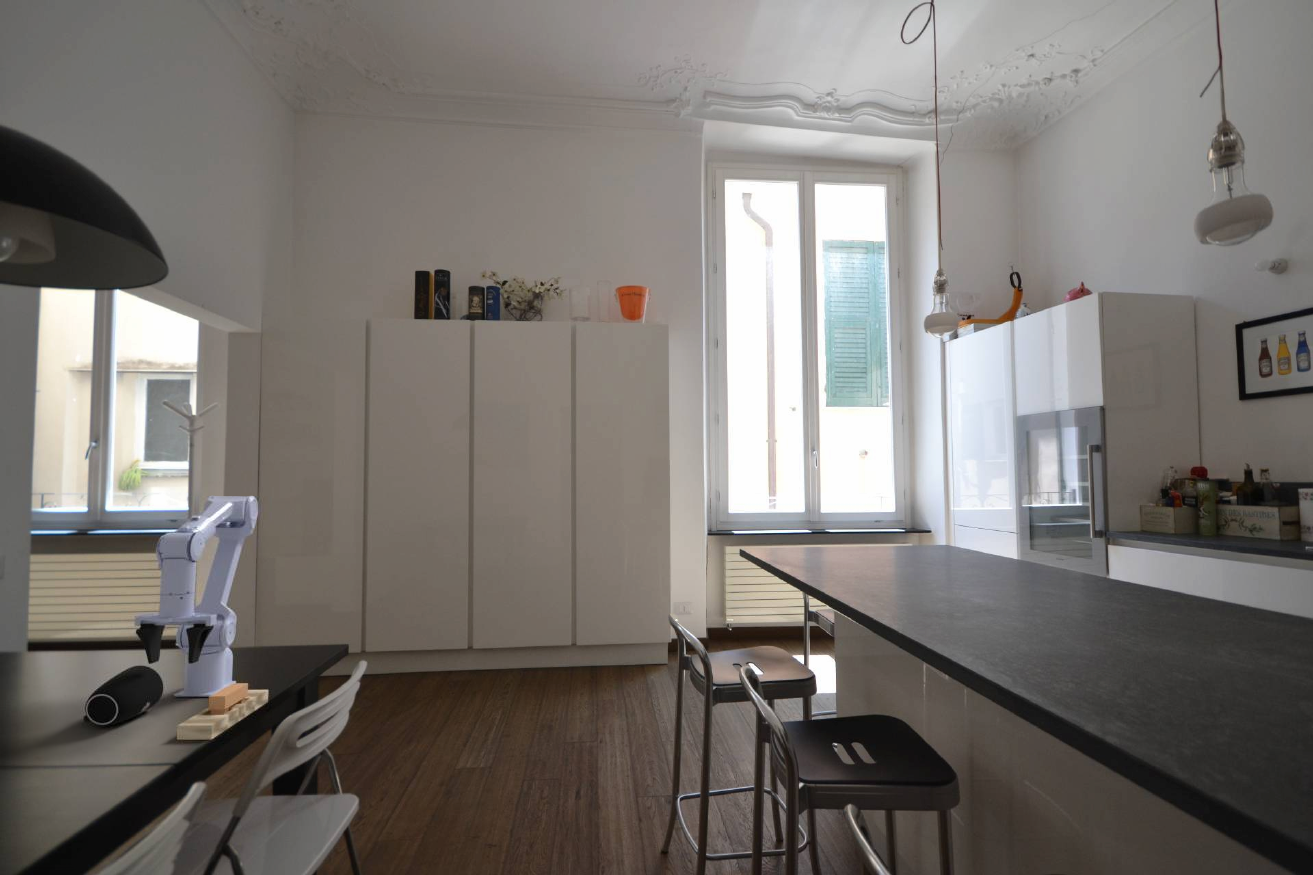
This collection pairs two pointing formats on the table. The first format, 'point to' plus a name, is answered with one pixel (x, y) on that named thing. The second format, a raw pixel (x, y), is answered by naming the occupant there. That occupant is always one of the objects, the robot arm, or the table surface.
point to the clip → (227, 698)
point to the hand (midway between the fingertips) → (173, 662)
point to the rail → (220, 718)
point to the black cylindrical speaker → (124, 696)
